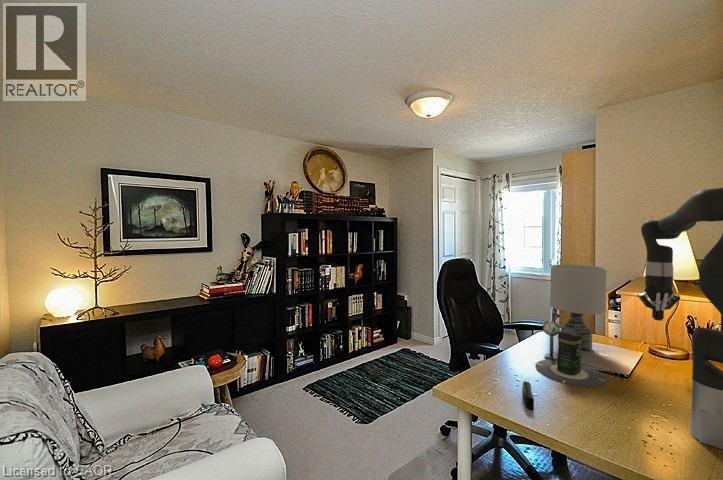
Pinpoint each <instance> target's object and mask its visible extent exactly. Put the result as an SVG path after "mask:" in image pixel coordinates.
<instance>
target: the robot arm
mask: <svg viewBox="0 0 723 480" xmlns="http://www.w3.org/2000/svg"><path fill="white" fill-rule="evenodd" d="M699 222H709V223H713V222H723V187H717V188H714V187H713V188H706V189H702V190H699V191H697V192H695V193H694V194H693V195H691V196H690V197H689V198H688V199H687V200H686V201H685V202H684V203H682V205H680V207H678V208H677V209H676V210H675V211H672V212H670V213H669V214H666V215H665V216H662V218H660V219H657V220H656V219H655V220H653V219H652V220H646V221H645V222H643V223H642V225H641V227H640V232H641V235H642V238H643V240H644V244H645V248H646V264H645V279H644V280H645V283H644V285H645V288H644V290H643V293H641V294H637V298H638V299H639V301H641V303H642V304H644V306H645V307H646V308H649V309H650V310H652V313H651V314H652V315H651V317H652V318H653V320H655V321H658V322H659V321H661V322H662V321H663V320H664V317H665V311H666V310H671V309H672V308H673V307H674V306H675V305H676V304H677V303H678V302H679V301H680V299H681V296H679V295H676V294H675V293H674V290H673V287H674V266H673V265H674V264H673V261H674V260H673V259H674V257H673V256H674V249H673V248H672V247H671V246H669V245H662V244H659V243H658V241H657V240H673V239H674V240H675V239H678V238H679V236H680V235H681V234H682V233H684V232H686V231H688V230H691V229H692V228H693V227H695V225H697V223H699ZM698 284H699V285H698V286H699V289H700V291H701V293H702V294H703V295H704V296H705V298H706V299H707V300H708V302H710V303H711V305H712V306H713V307H715V309H716V310H717V311H718V312H719V314H720V315H721V317H723V232H722V233H721V236H720V237H719V239H718V241H717V242H716V244H715V245H714V246H713V247H711V249H710V250H709V251H708V253H707V254H706V255H705V256H704V257H703V258H702V260H701V261H700V264H699V268H698ZM648 298H649V299H648ZM691 352H692V354H691V355H692V374H691V375H692V376H691V377H692V380H691V407H690V434H691V436H692V437H694V438H695V439H697V440H698V441H699V443H701V444H703V445H708V446H710V447H714V448H717V449H720V450H723V370H722V369H721V368H719V367H717V366H716V365H714V364H713V363H712V362H714V363H715V362H716V363H719V364H723V330H717V329H713V328H712V329H711V328H707V327H696V328H695V329H694V330H693V333H692V337H691Z"/></svg>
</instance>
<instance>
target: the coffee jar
mask: <svg viewBox="0 0 723 480" xmlns="http://www.w3.org/2000/svg"><path fill="white" fill-rule="evenodd" d="M557 340H558V346H557V348H558V349H557V355H558V361H557V370H558V371H560V372H562V373H564V374H568V375H577V374H579V373H580V372H581V364H582V361H581V360H582V352H581V341H582V334H581V333H580V332H579V331H578V330H574V329H570V328H569V329H565V330H562V331H561V330H560V331H559V332H558V334H557Z"/></svg>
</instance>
